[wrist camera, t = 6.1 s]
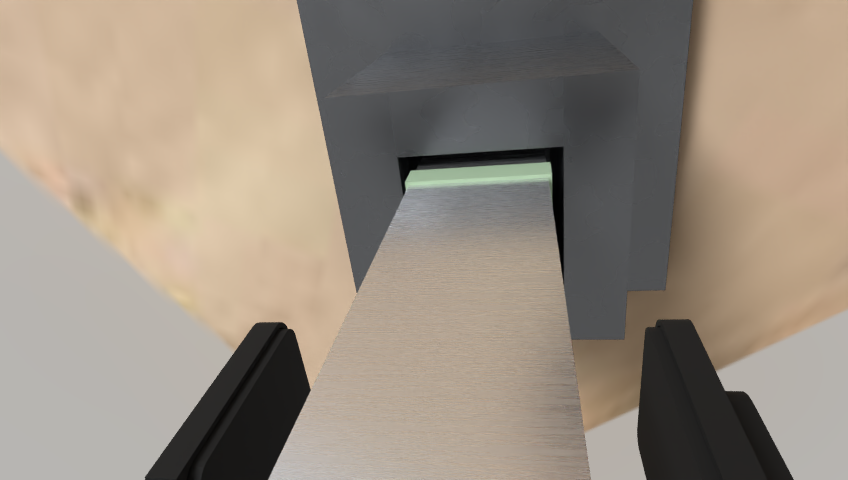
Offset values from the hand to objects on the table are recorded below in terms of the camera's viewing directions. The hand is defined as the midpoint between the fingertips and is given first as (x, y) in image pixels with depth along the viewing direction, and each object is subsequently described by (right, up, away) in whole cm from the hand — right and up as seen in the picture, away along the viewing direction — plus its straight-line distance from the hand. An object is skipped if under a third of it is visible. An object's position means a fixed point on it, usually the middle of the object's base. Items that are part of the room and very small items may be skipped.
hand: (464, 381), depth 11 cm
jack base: (+3, +8, +15) cm, 17 cm away
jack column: (+2, +5, +9) cm, 10 cm away
